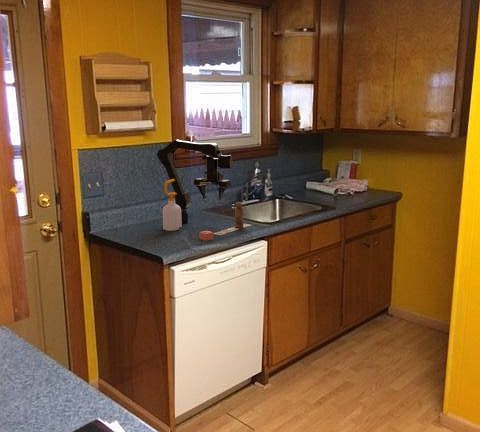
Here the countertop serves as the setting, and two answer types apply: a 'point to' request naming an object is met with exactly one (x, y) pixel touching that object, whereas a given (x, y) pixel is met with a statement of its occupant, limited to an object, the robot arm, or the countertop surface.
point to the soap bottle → (171, 212)
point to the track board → (229, 230)
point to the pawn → (238, 216)
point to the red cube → (206, 235)
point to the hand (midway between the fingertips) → (212, 199)
